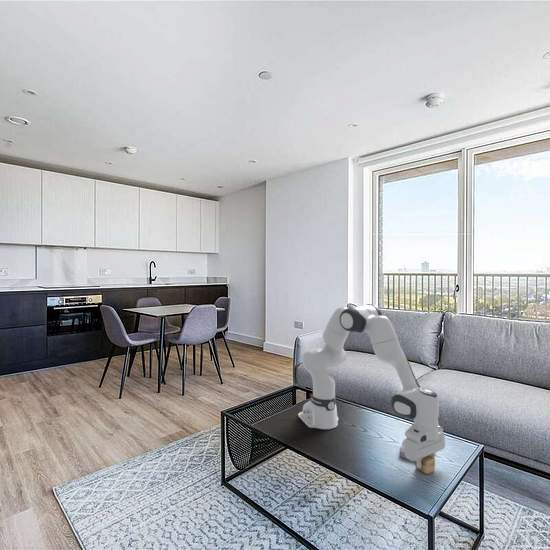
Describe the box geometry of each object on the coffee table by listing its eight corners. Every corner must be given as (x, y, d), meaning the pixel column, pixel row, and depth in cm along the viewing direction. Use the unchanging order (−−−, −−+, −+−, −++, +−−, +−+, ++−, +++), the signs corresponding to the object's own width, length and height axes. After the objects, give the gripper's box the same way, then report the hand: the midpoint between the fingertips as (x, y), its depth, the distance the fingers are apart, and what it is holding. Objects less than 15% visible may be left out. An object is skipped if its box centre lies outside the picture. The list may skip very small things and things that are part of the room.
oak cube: (415, 467, 138) (415, 455, 138) (423, 464, 141) (423, 452, 141) (426, 474, 134) (426, 461, 134) (434, 470, 136) (435, 458, 136)
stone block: (426, 454, 152) (402, 444, 157) (428, 445, 151) (405, 434, 156) (422, 469, 142) (397, 457, 147) (424, 459, 141) (399, 447, 146)
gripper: (435, 421, 145) (434, 454, 145) (402, 432, 134) (401, 468, 135) (449, 427, 139) (448, 461, 140) (415, 440, 129) (414, 476, 129)
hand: (425, 464), depth 137 cm, fingers closed on oak cube, 5 cm apart
